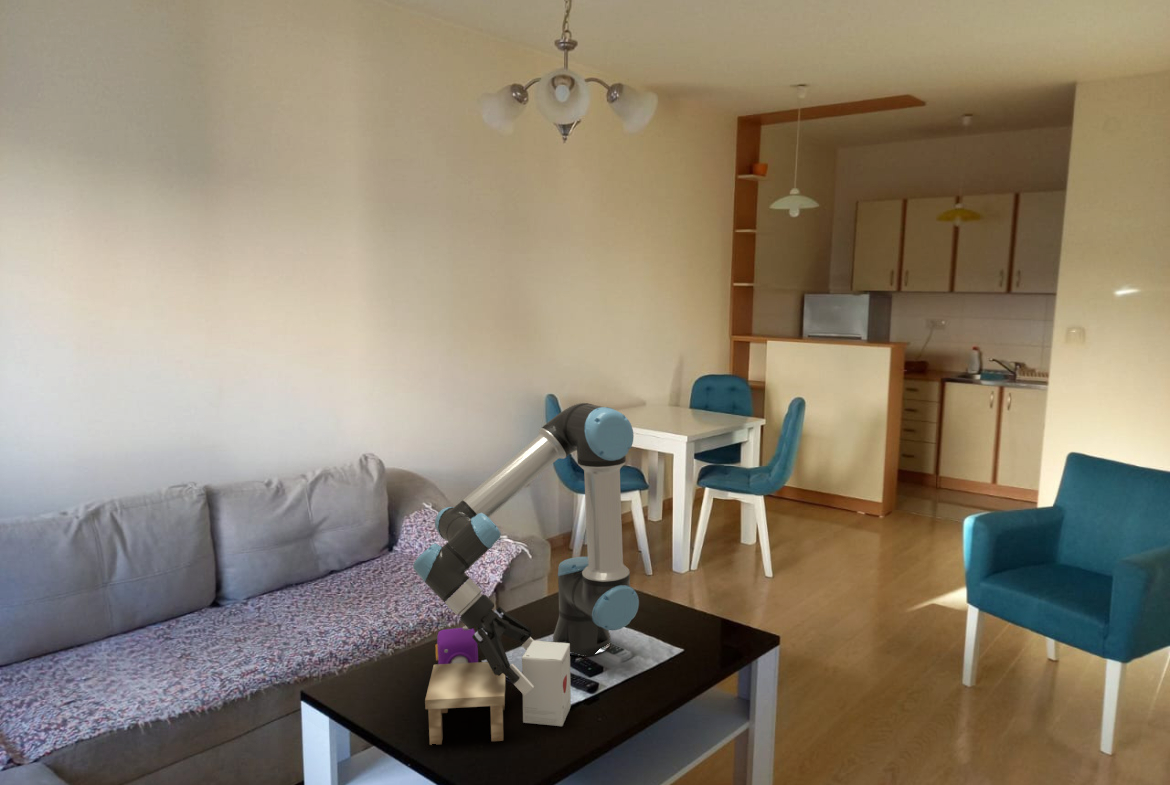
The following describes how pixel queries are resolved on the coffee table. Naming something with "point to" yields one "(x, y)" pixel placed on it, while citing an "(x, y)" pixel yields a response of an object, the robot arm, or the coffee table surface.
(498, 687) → the low wooden platform
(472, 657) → the toy camera
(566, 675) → the supplement box
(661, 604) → the coffee table surface
